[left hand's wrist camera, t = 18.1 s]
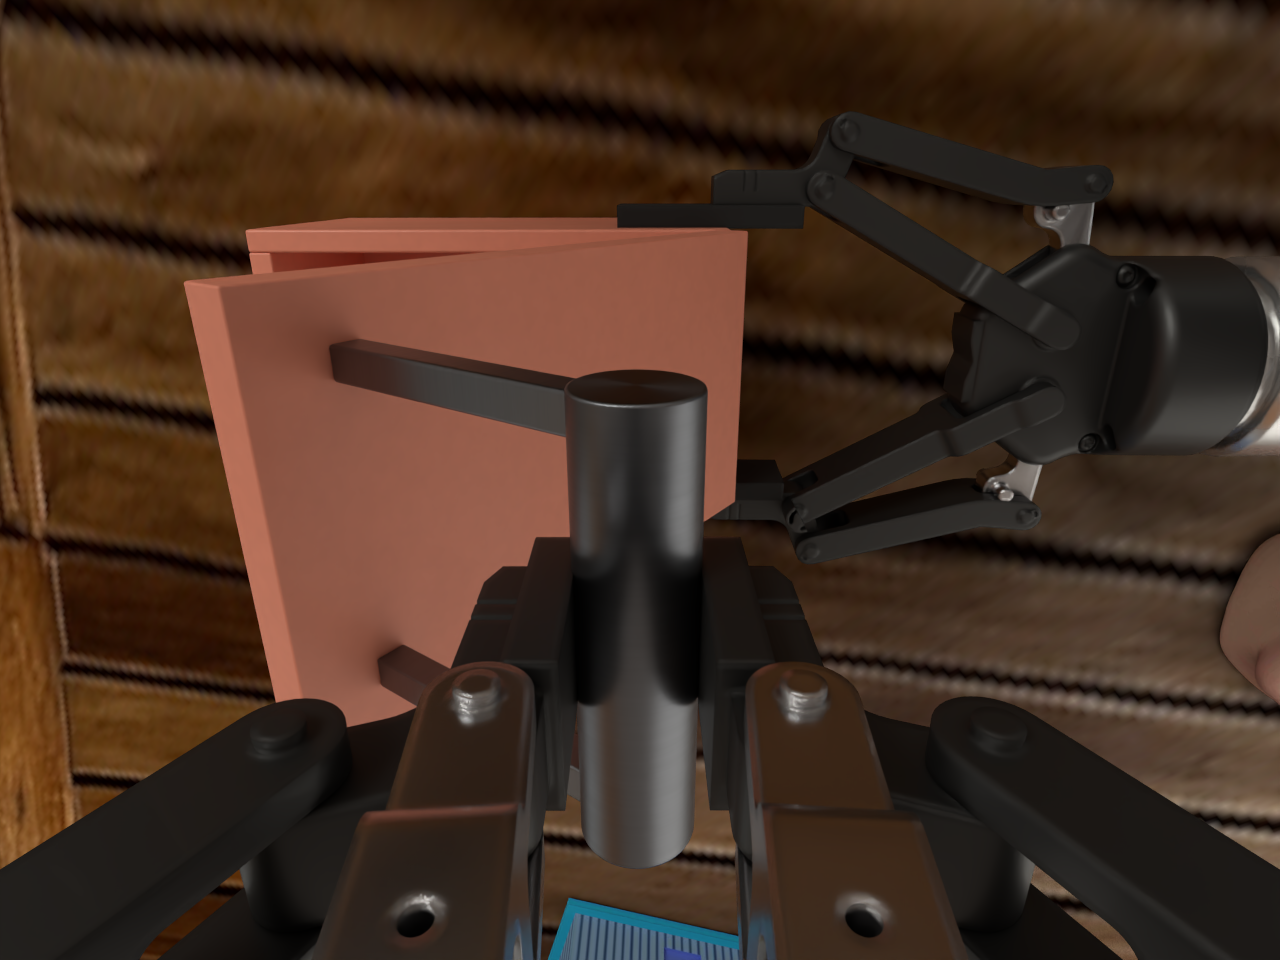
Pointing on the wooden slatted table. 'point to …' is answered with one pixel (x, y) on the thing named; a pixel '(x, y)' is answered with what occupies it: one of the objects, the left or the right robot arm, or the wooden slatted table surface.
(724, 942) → the model building
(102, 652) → the wooden slatted table surface
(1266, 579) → the anatomical model
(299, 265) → the chest
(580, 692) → the lid
